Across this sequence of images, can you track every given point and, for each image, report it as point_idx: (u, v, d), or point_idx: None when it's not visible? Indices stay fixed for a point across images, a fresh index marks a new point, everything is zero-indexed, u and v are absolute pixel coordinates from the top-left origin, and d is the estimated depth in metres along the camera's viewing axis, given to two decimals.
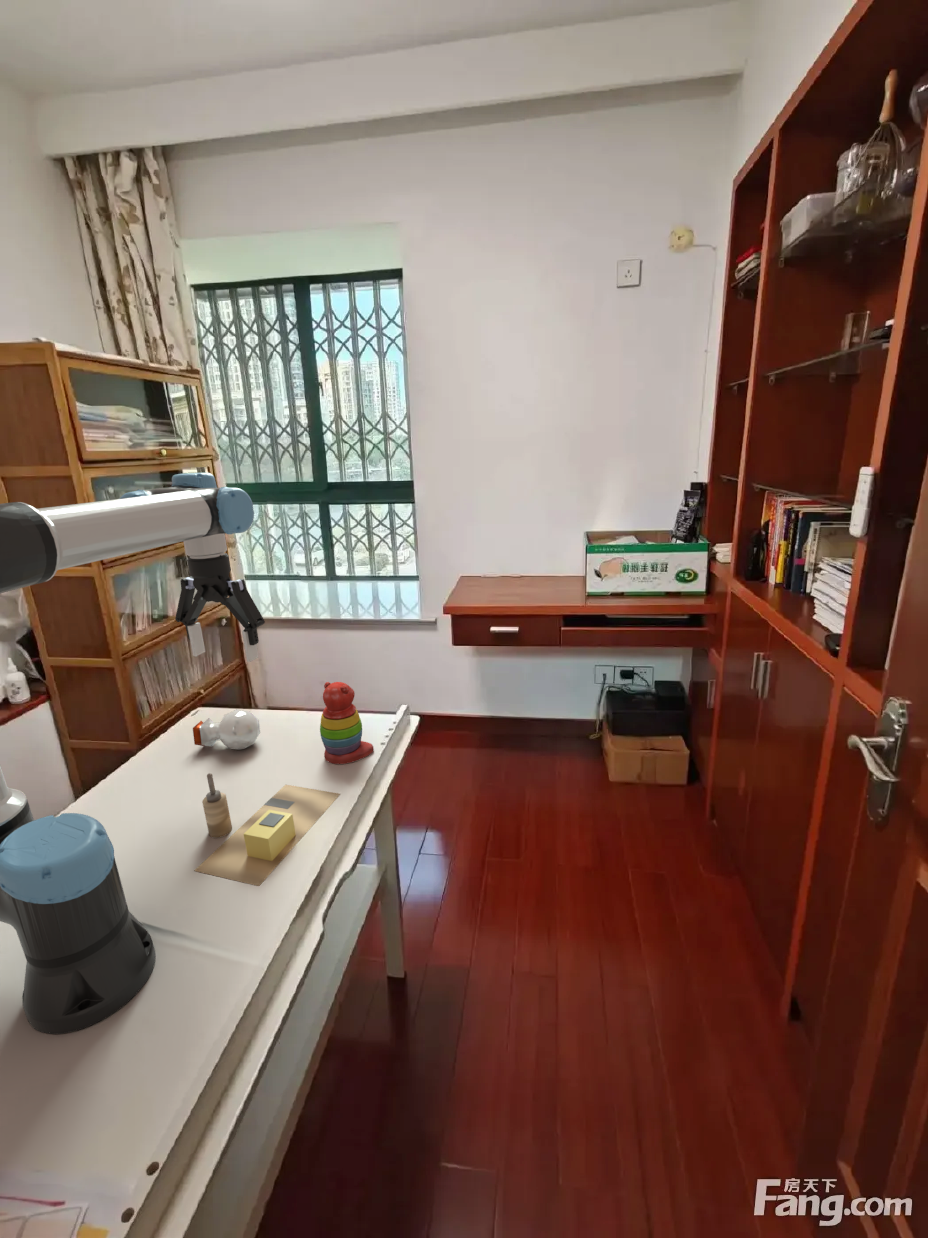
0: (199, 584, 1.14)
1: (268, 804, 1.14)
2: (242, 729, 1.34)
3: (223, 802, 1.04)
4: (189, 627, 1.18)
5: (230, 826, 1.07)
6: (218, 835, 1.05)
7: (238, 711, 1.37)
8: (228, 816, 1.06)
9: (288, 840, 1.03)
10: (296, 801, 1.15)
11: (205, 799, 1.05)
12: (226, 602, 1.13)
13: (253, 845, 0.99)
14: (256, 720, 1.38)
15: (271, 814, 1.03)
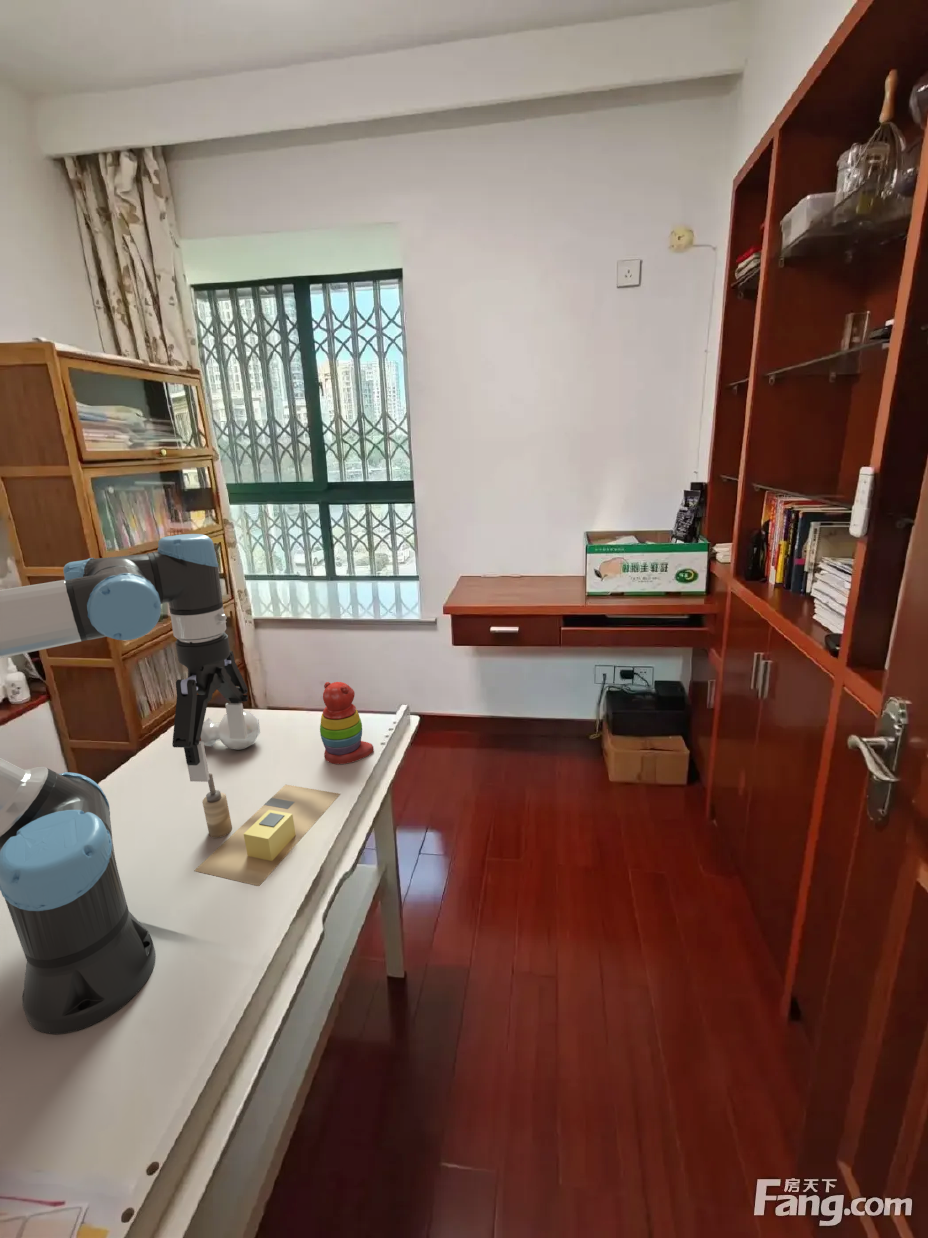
0: None
1: (268, 804, 1.14)
2: None
3: (223, 802, 1.04)
4: None
5: (230, 826, 1.07)
6: (218, 835, 1.05)
7: None
8: (228, 816, 1.06)
9: (288, 840, 1.03)
10: (296, 801, 1.15)
11: (205, 799, 1.05)
12: None
13: (253, 845, 0.99)
14: (256, 720, 1.38)
15: (271, 814, 1.03)
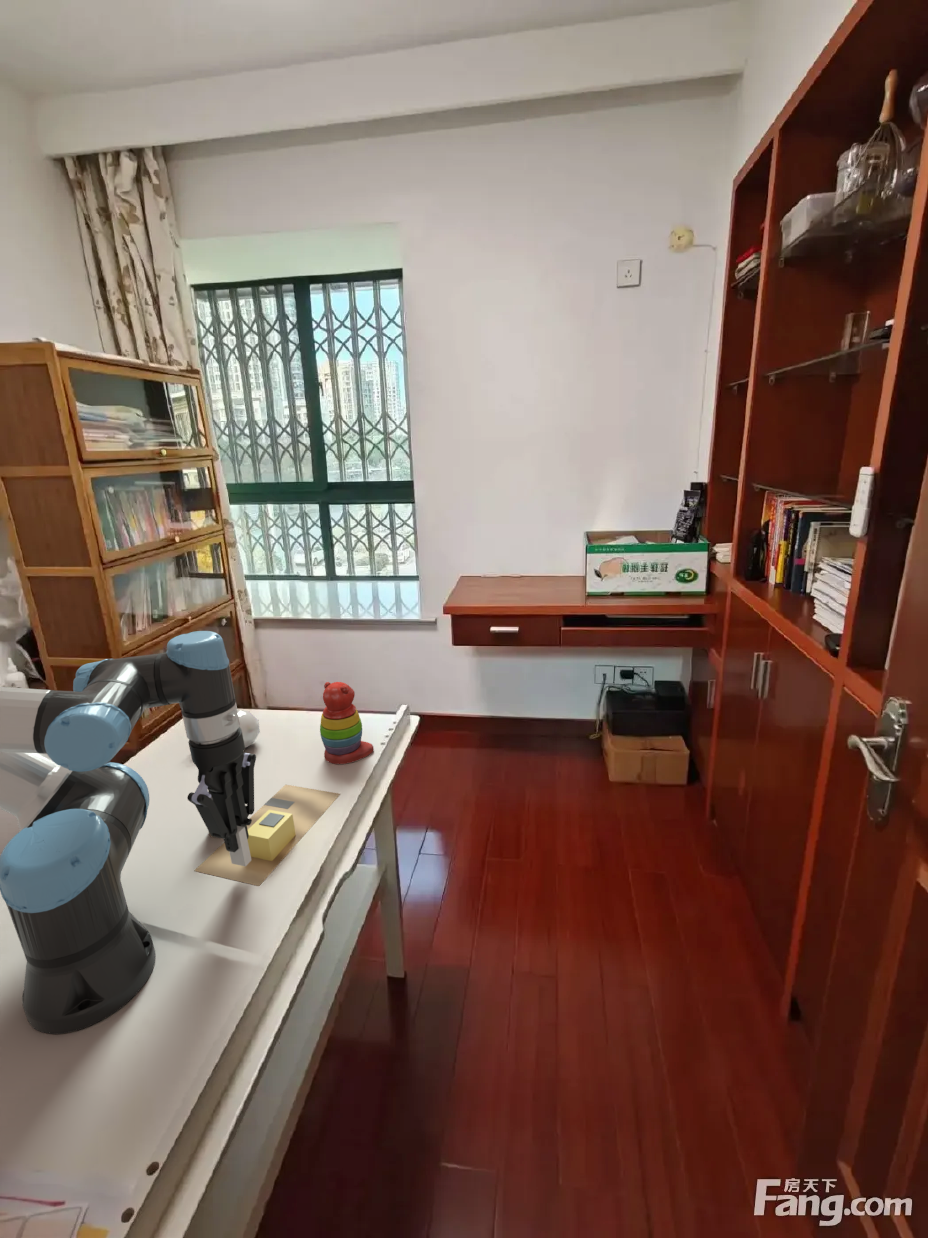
0: None
1: (268, 804, 1.14)
2: (242, 729, 1.34)
3: None
4: None
5: None
6: None
7: (238, 711, 1.37)
8: None
9: (288, 840, 1.03)
10: (296, 801, 1.15)
11: None
12: None
13: (253, 845, 0.99)
14: (256, 720, 1.38)
15: (271, 814, 1.03)
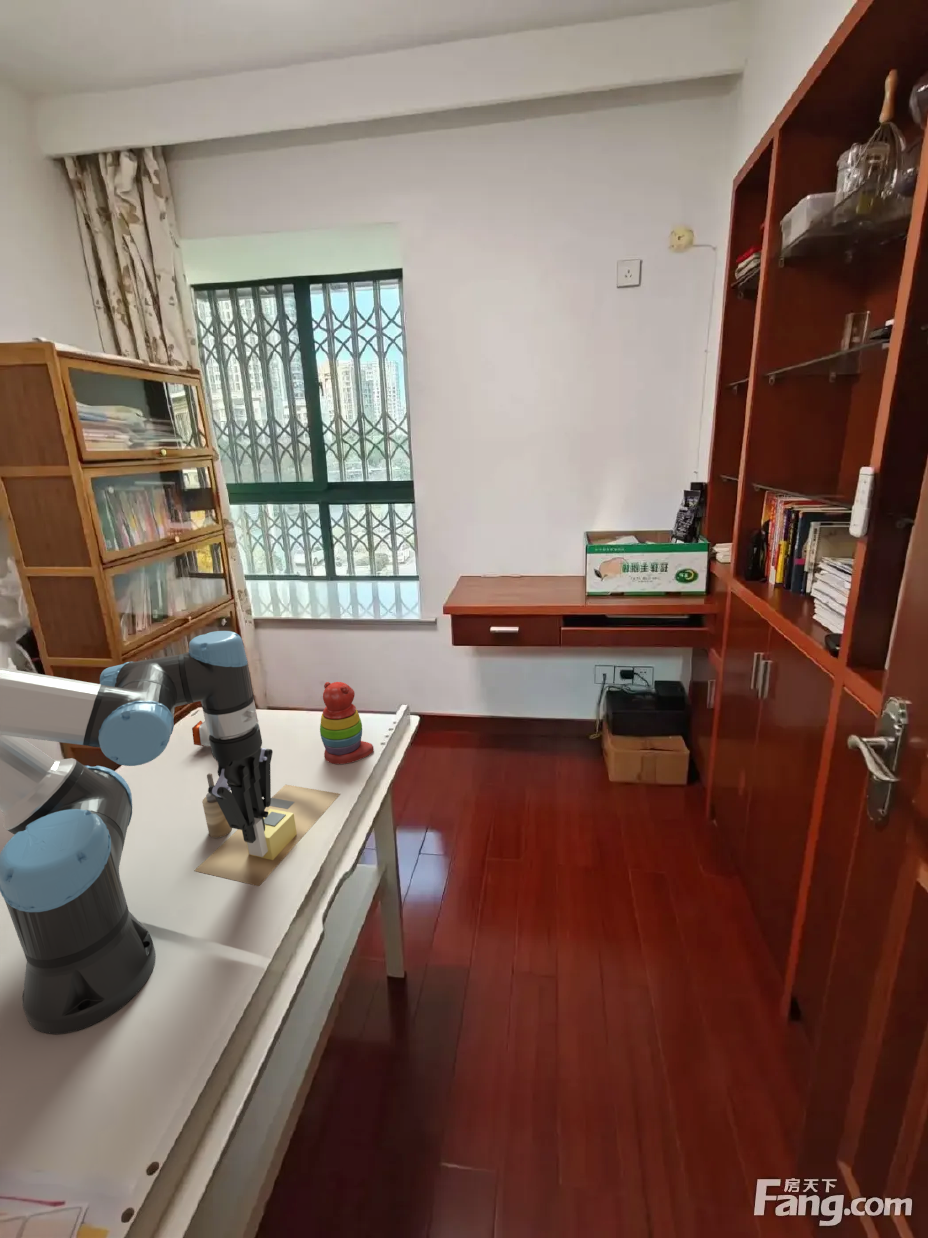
0: None
1: None
2: None
3: None
4: None
5: None
6: (218, 835, 1.05)
7: None
8: None
9: (289, 839, 1.03)
10: (296, 801, 1.15)
11: (205, 799, 1.05)
12: None
13: None
14: None
15: (272, 813, 1.03)
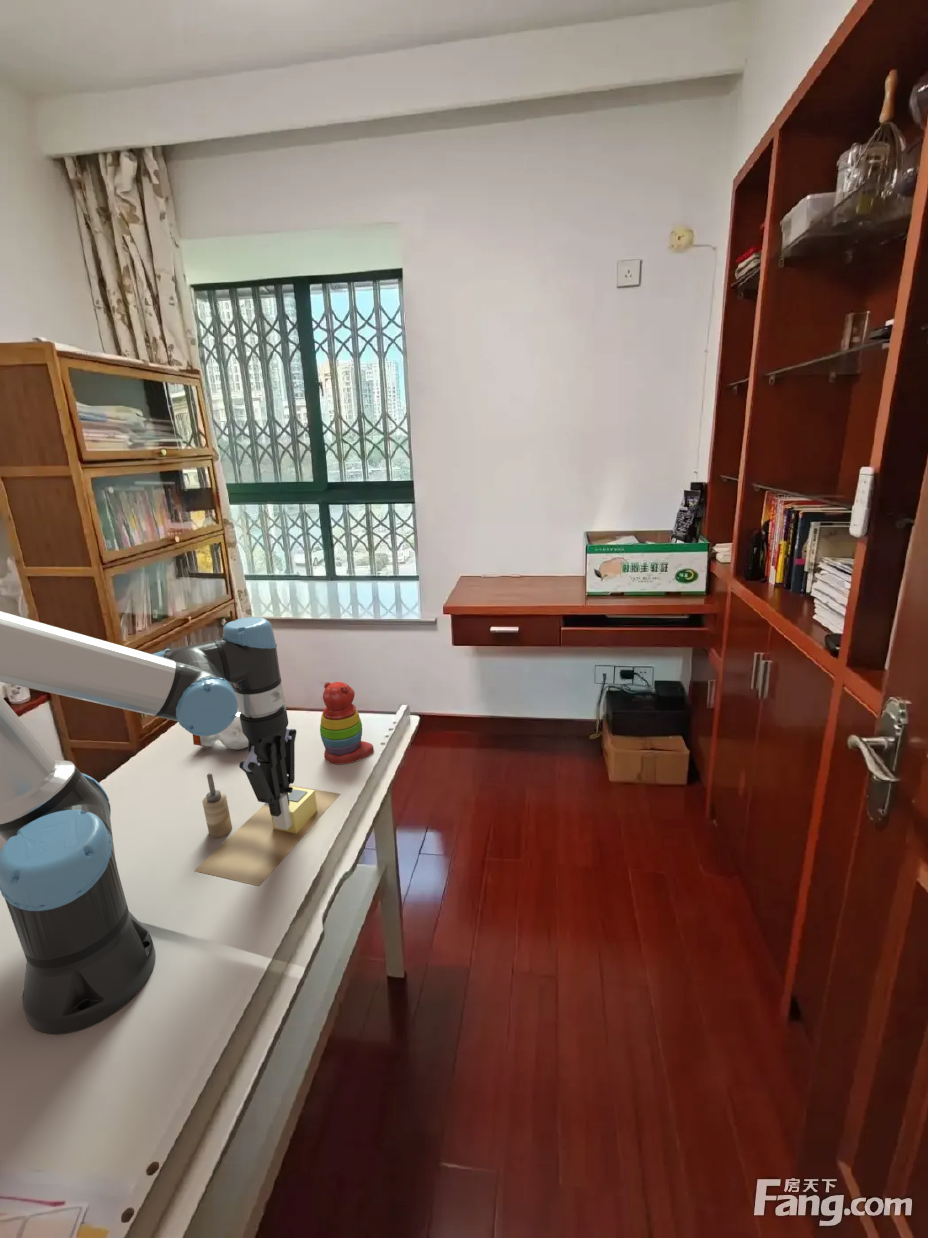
0: None
1: (268, 804, 1.14)
2: (241, 729, 1.34)
3: (223, 802, 1.04)
4: None
5: (230, 826, 1.07)
6: (218, 835, 1.05)
7: (237, 711, 1.37)
8: (228, 816, 1.06)
9: (311, 815, 1.09)
10: None
11: (205, 799, 1.05)
12: None
13: None
14: None
15: (295, 790, 1.10)
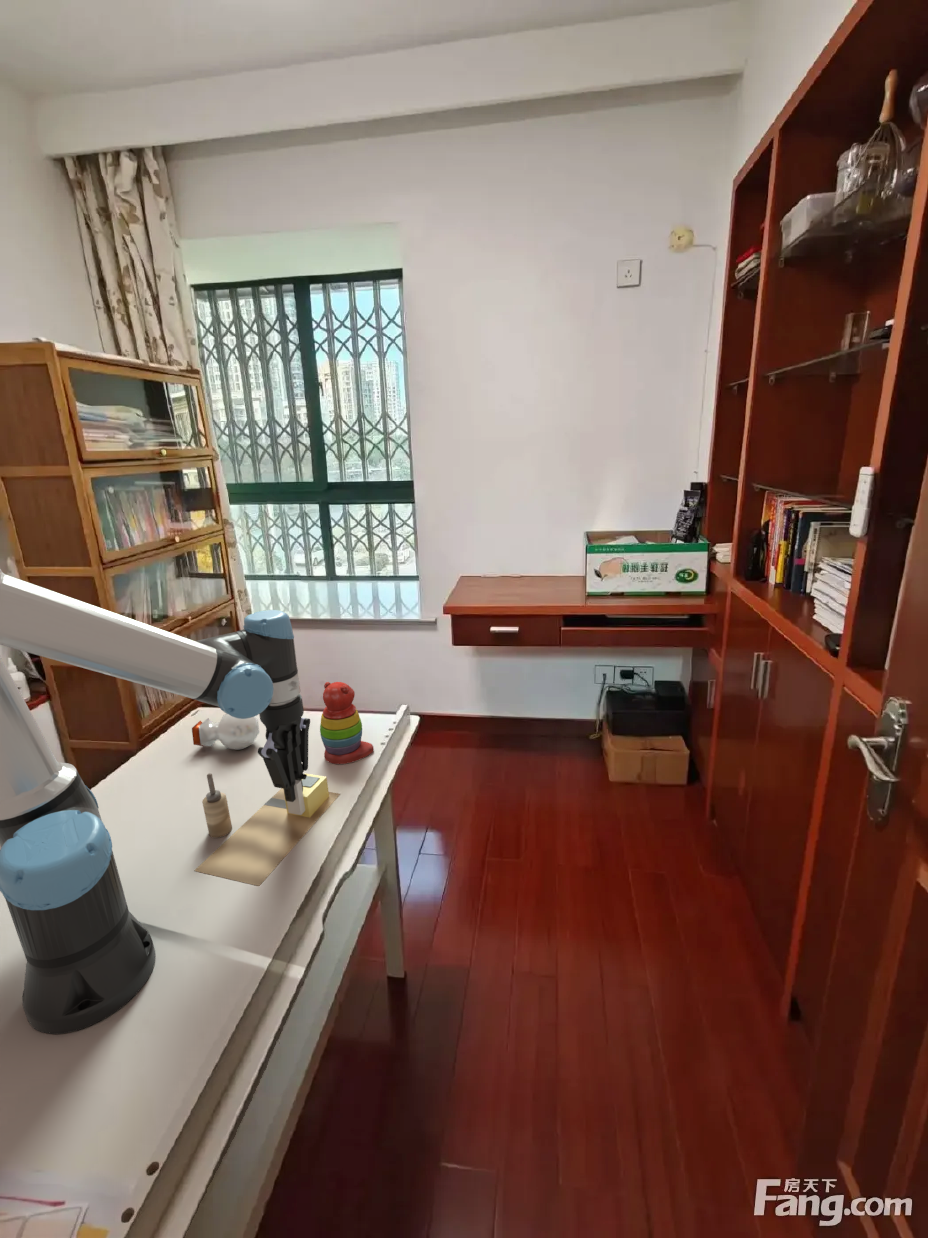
0: None
1: (268, 804, 1.14)
2: (241, 729, 1.34)
3: (223, 802, 1.04)
4: None
5: (230, 826, 1.07)
6: (218, 835, 1.05)
7: None
8: (228, 816, 1.06)
9: (323, 800, 1.14)
10: None
11: (205, 799, 1.05)
12: None
13: None
14: (255, 720, 1.38)
15: (307, 777, 1.14)
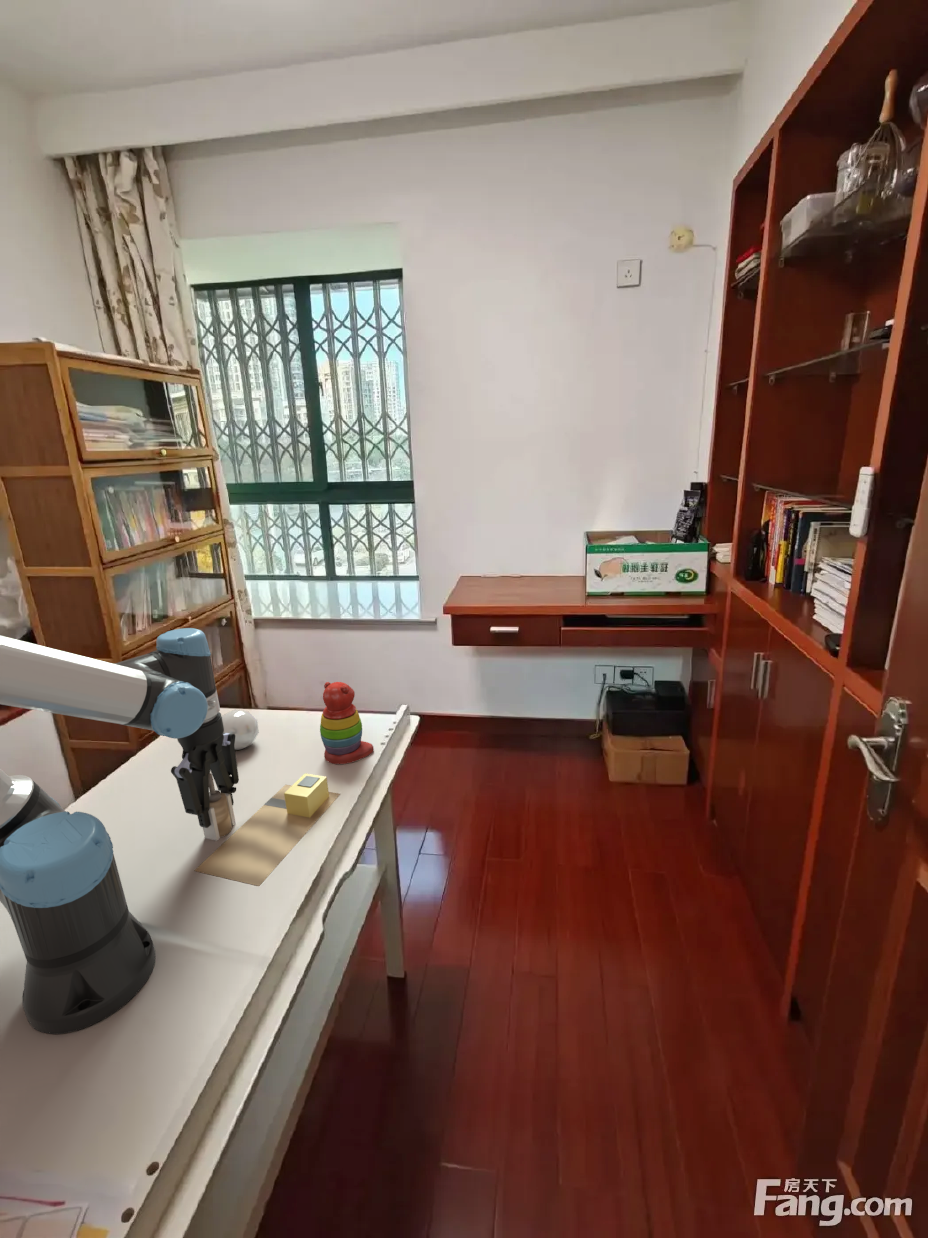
0: None
1: (268, 804, 1.14)
2: (240, 729, 1.34)
3: (223, 802, 1.04)
4: None
5: (230, 826, 1.07)
6: None
7: (236, 711, 1.37)
8: (228, 816, 1.06)
9: (323, 800, 1.14)
10: None
11: None
12: None
13: (293, 803, 1.10)
14: (254, 720, 1.38)
15: (307, 777, 1.14)
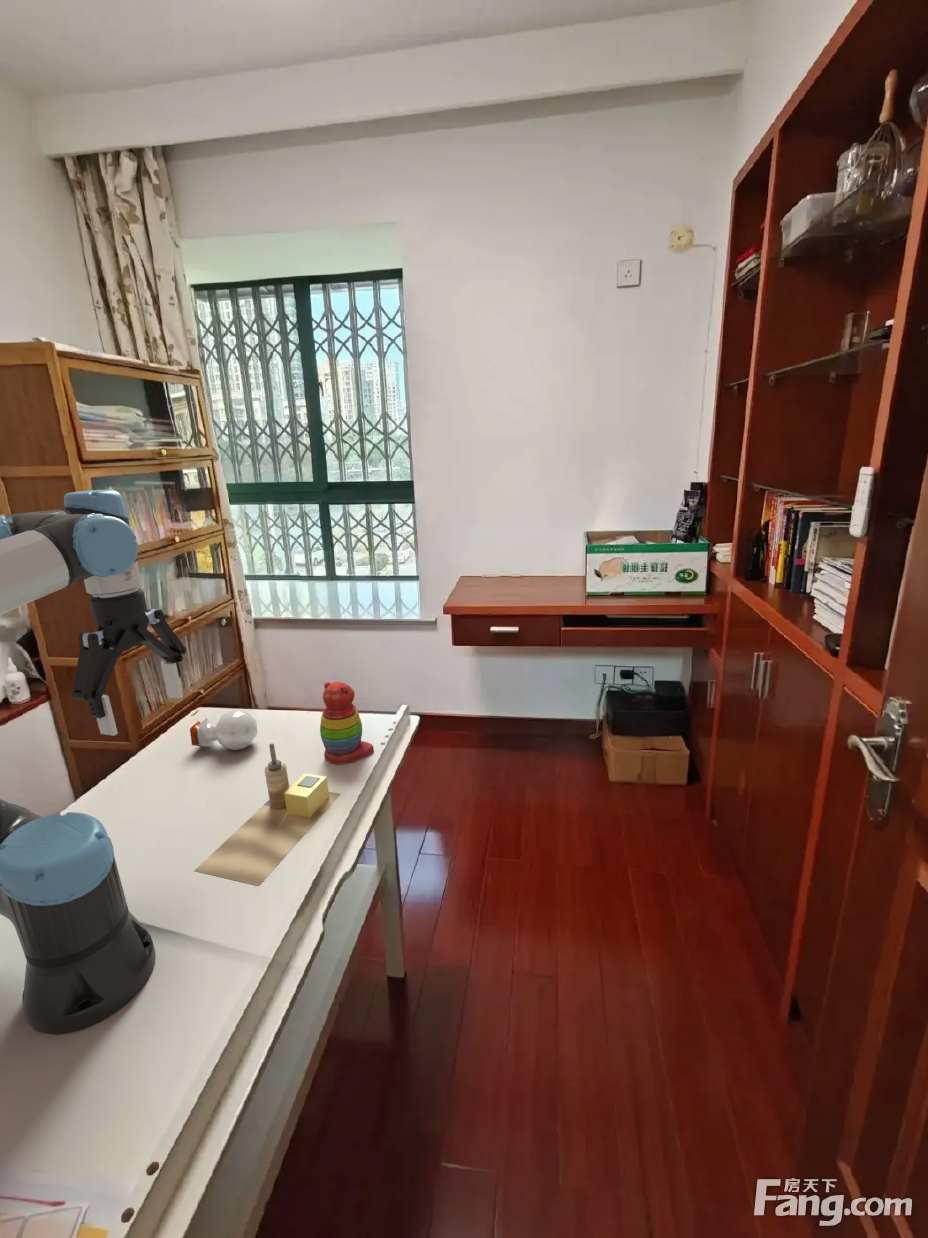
0: None
1: (268, 804, 1.14)
2: (239, 729, 1.34)
3: (284, 771, 1.11)
4: None
5: None
6: (279, 802, 1.12)
7: (235, 711, 1.36)
8: (288, 784, 1.13)
9: (323, 800, 1.14)
10: None
11: (267, 768, 1.12)
12: None
13: (293, 803, 1.10)
14: (253, 720, 1.38)
15: (307, 777, 1.14)
